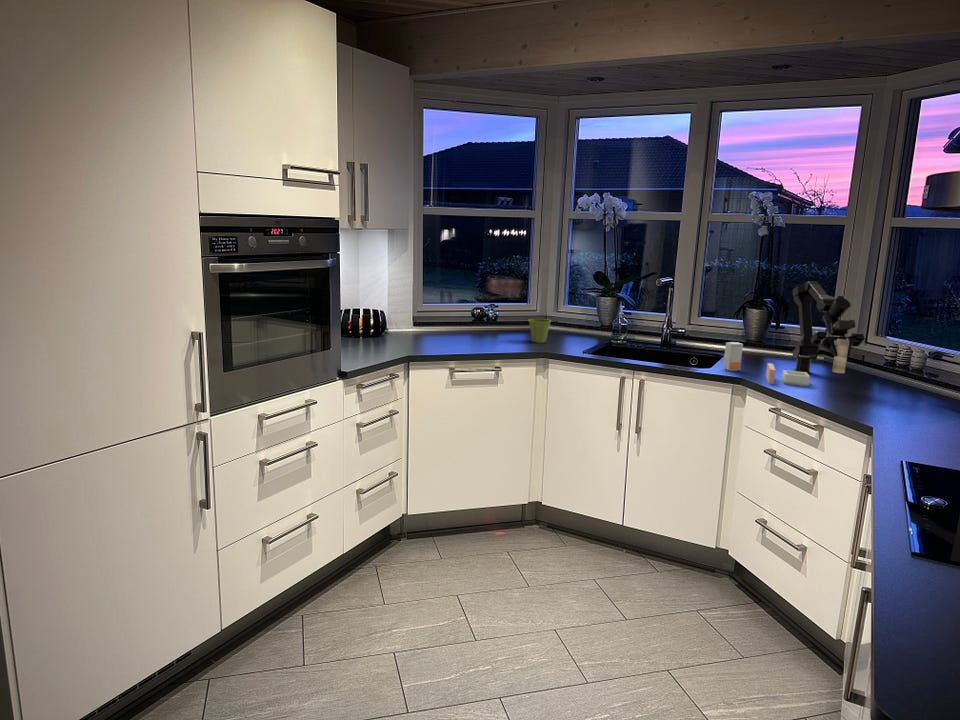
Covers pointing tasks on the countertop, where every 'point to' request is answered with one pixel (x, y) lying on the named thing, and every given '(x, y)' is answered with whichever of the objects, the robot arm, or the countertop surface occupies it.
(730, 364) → the skincare box
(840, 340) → the dowel
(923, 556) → the countertop surface
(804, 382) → the cradle
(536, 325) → the plant pot
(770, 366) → the backstop wall
